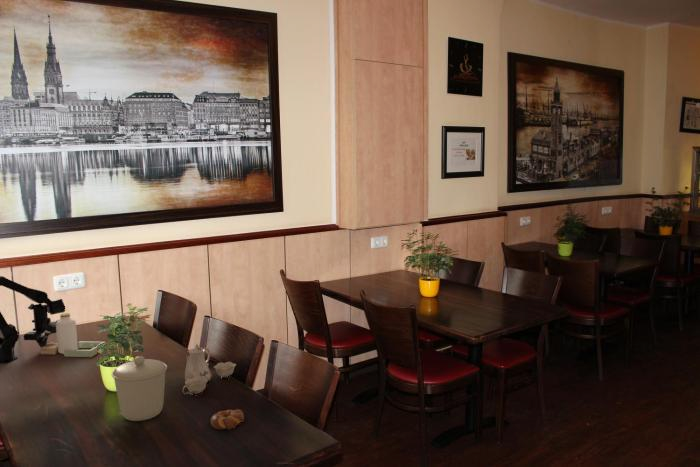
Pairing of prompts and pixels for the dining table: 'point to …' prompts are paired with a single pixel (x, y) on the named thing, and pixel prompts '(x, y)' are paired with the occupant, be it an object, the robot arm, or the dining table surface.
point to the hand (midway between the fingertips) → (43, 349)
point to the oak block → (50, 348)
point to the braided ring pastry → (227, 419)
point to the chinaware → (202, 370)
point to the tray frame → (83, 352)
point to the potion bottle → (66, 333)
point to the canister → (140, 388)
